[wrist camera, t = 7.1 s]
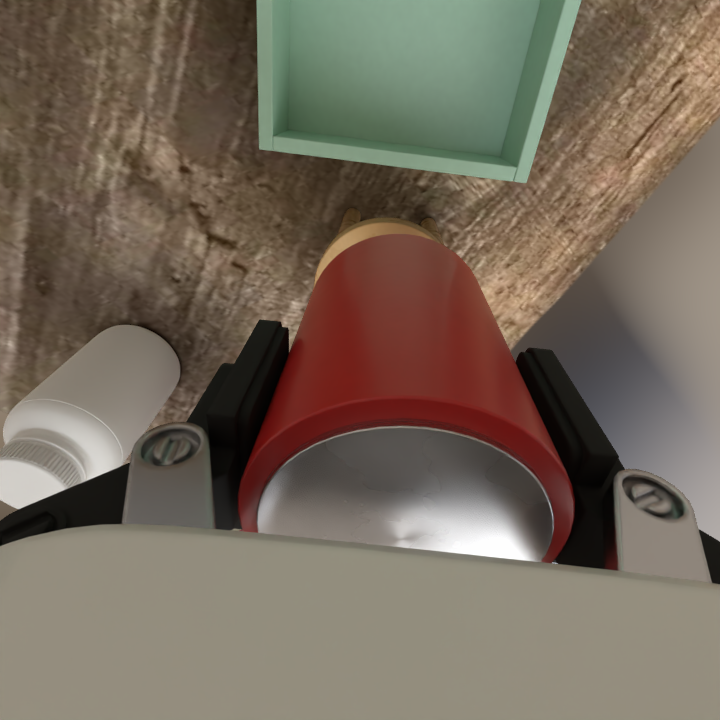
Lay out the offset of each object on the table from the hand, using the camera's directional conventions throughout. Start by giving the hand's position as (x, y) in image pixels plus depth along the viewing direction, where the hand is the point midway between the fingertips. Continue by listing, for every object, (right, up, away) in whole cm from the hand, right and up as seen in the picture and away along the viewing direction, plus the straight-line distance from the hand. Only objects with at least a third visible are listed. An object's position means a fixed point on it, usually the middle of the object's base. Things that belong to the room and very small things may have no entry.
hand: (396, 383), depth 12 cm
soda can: (0, +2, +3) cm, 4 cm away
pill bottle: (-21, +1, +28) cm, 35 cm away
